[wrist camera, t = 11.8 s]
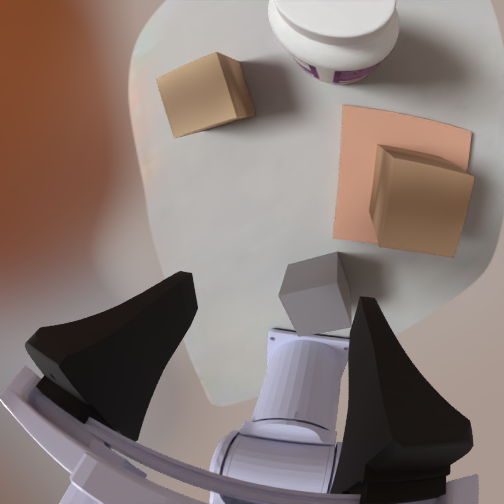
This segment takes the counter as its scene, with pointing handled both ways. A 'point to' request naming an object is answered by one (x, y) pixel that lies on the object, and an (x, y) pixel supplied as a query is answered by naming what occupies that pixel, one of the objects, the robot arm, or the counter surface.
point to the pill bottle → (336, 35)
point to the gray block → (317, 295)
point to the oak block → (205, 94)
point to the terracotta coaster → (364, 156)
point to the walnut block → (418, 201)
